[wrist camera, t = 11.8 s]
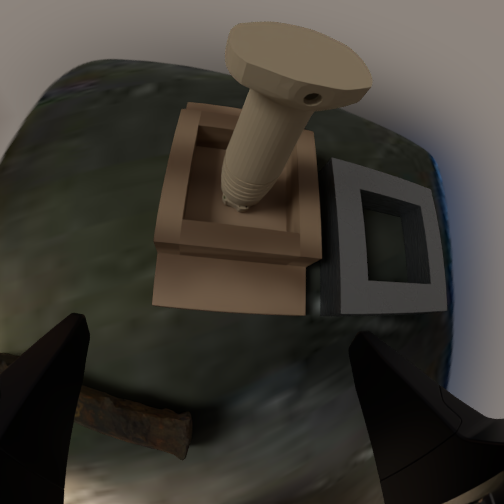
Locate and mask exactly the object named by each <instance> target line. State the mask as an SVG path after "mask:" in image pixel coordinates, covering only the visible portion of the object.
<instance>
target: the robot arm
mask: <svg viewBox="0 0 504 504" xmlns="http://www.w3.org/2000/svg"><path fill="white" fill-rule="evenodd" d="M89 341H90V333H89V329H88V325H87V322H86V318H85V316H84V315H83V314H78V313H71V314H70V315H69V316H67V317H66V318H65V319H64V320H62V321H61V322H60V323H59V324H57V325H56V326H55V327H54V328H52V329H51V330H50V331H49V332H48V333H46V334H45V335H44V336H43V337H42V338H40V339H39V340H38V341H37V342H36V343H35V344H33V345H32V346H31V347H30V348H29V349H28V350H26V351H25V352H24V353H23V354H22V355H21V356H20V357H18V358H17V359H16V360H15V361H14V362H13V363H12V364H11V365H9V366H8V367H7V368H6V369H5V370H4V371H3V372H2V373H1V374H0V504H64V487H65V476H66V467H67V459H68V452H69V445H70V439H71V433H72V428H73V422H74V417H75V413H76V408H77V403H78V399H79V395H80V391H81V387H82V382H83V376H84V370H85V363H86V357H87V351H88V346H89ZM349 357H350V362H351V367H352V372H353V377H354V382H355V387H356V391H357V395H358V398H359V402H360V405H361V409H362V412H363V416H364V419H365V423H366V426H367V430H368V434H369V438H370V441H371V445H372V449H373V453H374V457H375V461H376V465H377V470H378V474H379V478H380V483H381V488H382V492H383V497H384V502H385V504H504V419H492V418H488V417H485V416H484V415H482V414H481V413H479V412H478V411H476V410H474V409H473V408H471V407H470V406H468V405H467V404H465V403H464V402H462V401H461V400H459V399H458V398H456V397H455V396H453V395H452V394H451V393H450V392H448V391H447V390H446V389H444V388H443V387H442V386H440V385H439V384H438V383H436V382H435V381H434V380H433V379H431V378H430V377H429V376H427V375H426V374H425V373H424V372H422V371H421V370H420V369H418V368H417V367H416V366H414V365H413V364H412V363H411V362H409V361H408V360H407V359H405V358H404V357H403V356H401V355H400V354H399V353H398V352H396V351H395V350H394V349H392V348H391V347H390V346H388V345H387V344H386V343H384V342H383V341H382V340H381V339H379V338H378V337H377V336H375V335H374V334H373V333H371V332H370V331H360V332H358V333H357V335H356V336H355V338H354V340H353V341H352V343H351V345H350V347H349Z"/></svg>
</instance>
